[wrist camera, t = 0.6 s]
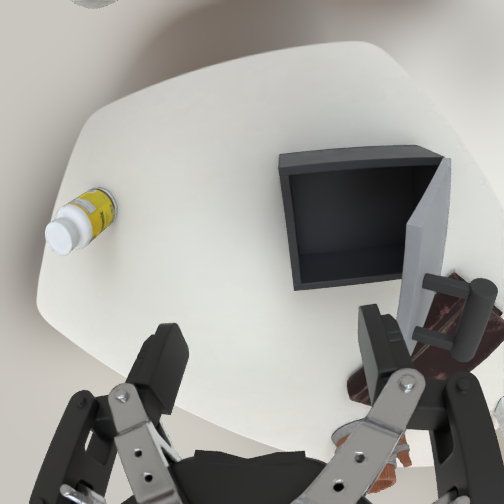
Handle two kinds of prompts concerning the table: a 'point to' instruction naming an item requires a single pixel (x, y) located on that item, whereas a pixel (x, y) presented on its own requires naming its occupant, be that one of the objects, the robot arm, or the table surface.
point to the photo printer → (500, 414)
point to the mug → (388, 473)
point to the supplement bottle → (81, 221)
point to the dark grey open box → (351, 211)
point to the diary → (434, 358)
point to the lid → (438, 277)
